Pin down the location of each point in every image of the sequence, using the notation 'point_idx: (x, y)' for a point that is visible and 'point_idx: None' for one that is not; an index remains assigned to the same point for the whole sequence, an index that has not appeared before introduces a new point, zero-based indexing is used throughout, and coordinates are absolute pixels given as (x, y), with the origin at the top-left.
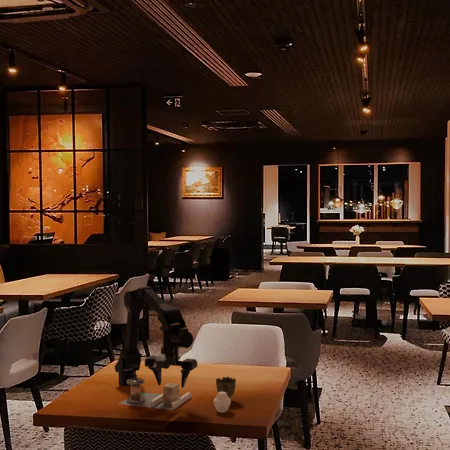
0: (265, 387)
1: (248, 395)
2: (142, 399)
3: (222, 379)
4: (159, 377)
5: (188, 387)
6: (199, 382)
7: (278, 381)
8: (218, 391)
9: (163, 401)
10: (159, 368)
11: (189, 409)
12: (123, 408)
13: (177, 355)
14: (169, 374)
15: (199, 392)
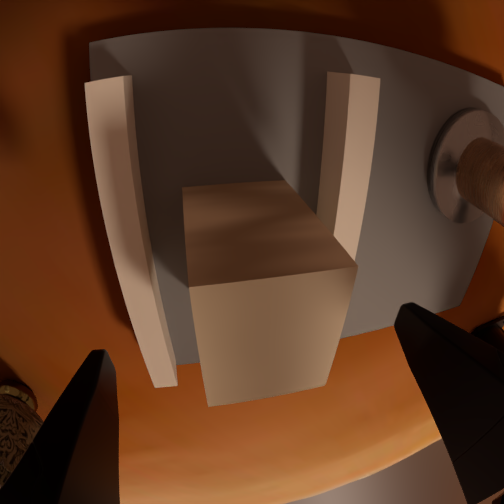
0: None
1: None
2: (445, 171)
3: None
4: (448, 376)
5: (272, 438)
6: (257, 466)
7: None
8: (9, 416)
9: (284, 185)
10: (490, 464)
11: (43, 199)
12: (484, 72)
13: None
14: (367, 451)
15: (196, 427)
